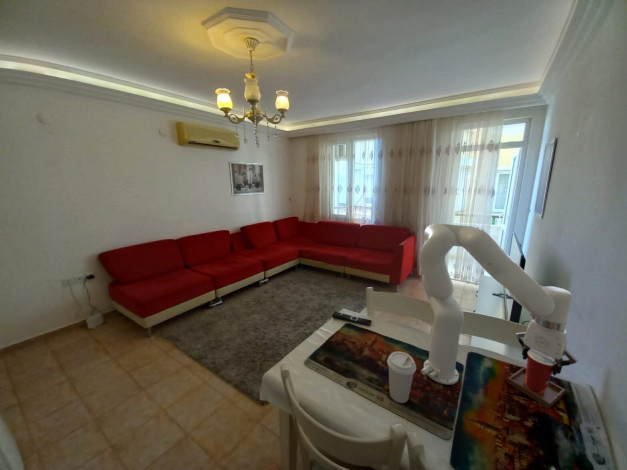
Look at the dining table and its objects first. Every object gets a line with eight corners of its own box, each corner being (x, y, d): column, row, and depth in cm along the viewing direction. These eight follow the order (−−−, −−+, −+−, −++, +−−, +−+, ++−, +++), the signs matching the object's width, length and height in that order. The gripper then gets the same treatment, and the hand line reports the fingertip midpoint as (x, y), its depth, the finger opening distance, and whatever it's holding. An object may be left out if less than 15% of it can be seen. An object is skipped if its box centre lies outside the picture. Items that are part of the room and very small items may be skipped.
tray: (548, 408, 80) (550, 403, 79) (506, 382, 91) (507, 378, 90) (564, 394, 85) (565, 389, 85) (522, 371, 96) (523, 366, 95)
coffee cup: (399, 411, 79) (402, 373, 76) (379, 390, 88) (381, 355, 84) (419, 399, 84) (422, 363, 80) (398, 380, 92) (400, 346, 89)
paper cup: (555, 397, 83) (563, 363, 80) (529, 394, 85) (537, 360, 82) (539, 380, 91) (546, 348, 88) (516, 377, 92) (522, 345, 89)
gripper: (514, 312, 88) (506, 354, 92) (581, 339, 73) (568, 387, 77) (524, 308, 91) (516, 347, 95) (590, 332, 76) (578, 378, 80)
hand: (539, 365), depth 86 cm, fingers closed on paper cup, 7 cm apart
